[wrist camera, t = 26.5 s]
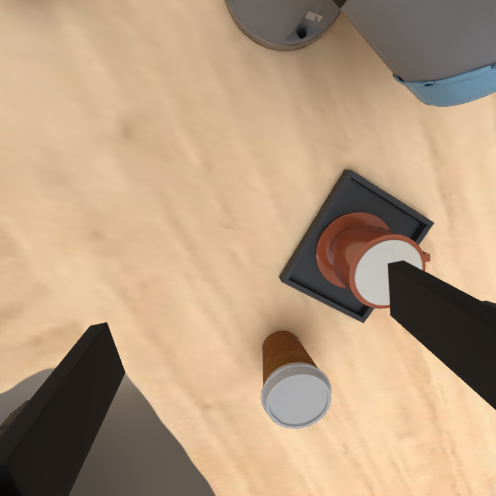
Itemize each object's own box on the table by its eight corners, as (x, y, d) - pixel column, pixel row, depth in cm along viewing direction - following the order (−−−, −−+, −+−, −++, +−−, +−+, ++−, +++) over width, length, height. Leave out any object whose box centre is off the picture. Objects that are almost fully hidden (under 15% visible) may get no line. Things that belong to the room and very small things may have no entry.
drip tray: (344, 169, 43) (350, 169, 41) (425, 220, 46) (434, 222, 44) (278, 276, 47) (281, 281, 45) (358, 317, 50) (363, 323, 48)
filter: (319, 293, 47) (345, 327, 38) (310, 220, 44) (335, 236, 34) (396, 277, 48) (441, 306, 38) (392, 203, 44) (441, 214, 35)
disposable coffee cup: (319, 335, 50) (348, 386, 39) (290, 379, 52) (310, 440, 40) (270, 313, 48) (285, 360, 37) (242, 359, 50) (249, 418, 39)
